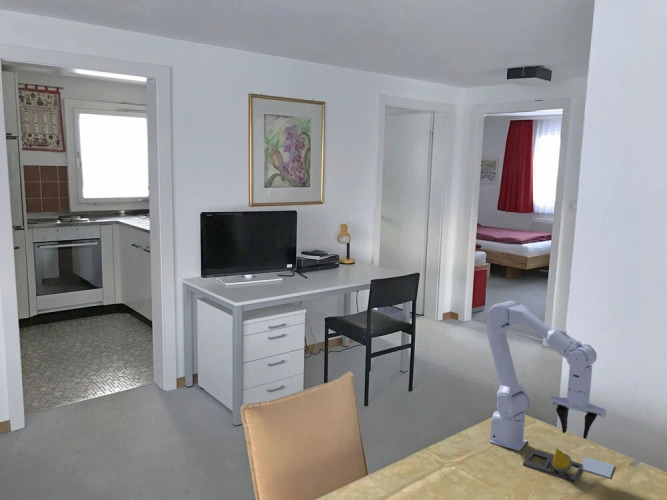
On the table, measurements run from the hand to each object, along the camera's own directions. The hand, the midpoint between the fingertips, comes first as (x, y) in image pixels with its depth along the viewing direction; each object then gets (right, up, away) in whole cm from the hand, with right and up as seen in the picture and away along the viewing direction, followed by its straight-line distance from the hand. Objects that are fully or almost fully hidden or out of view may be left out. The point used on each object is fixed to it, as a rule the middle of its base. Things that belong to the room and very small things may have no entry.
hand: (574, 434), depth 158 cm
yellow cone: (-3, -10, +1) cm, 11 cm away
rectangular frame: (-5, -10, +3) cm, 12 cm away
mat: (+7, -10, +3) cm, 13 cm away
